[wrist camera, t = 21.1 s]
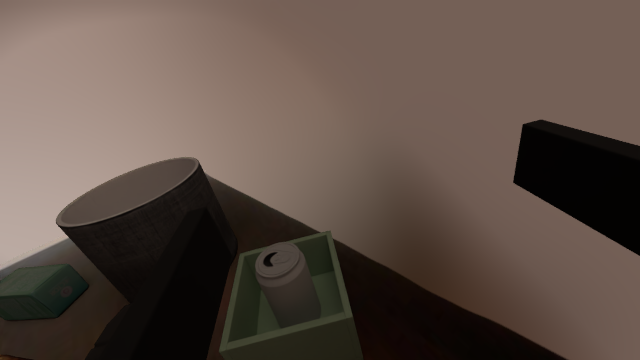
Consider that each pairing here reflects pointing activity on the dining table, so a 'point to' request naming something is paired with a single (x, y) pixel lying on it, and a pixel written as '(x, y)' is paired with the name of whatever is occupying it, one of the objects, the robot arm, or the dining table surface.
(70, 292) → the box
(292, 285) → the beverage can
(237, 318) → the waste bin
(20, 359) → the bread
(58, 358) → the dining table surface
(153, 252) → the planter
